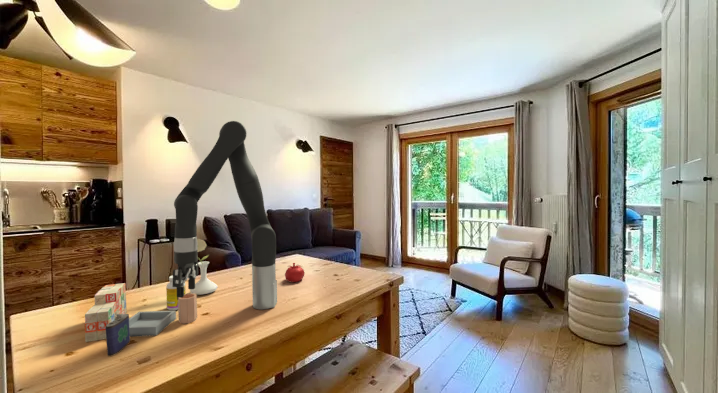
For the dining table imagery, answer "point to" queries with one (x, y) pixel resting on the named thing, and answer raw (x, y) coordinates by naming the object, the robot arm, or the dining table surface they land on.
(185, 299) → the beaker
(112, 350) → the flask
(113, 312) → the stack of blocks
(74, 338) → the dining table surface
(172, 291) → the supplement bottle
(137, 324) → the tray
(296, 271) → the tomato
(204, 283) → the flower in vase
